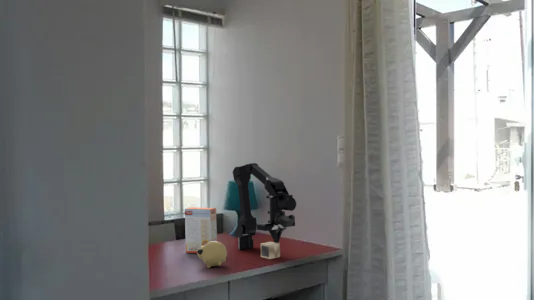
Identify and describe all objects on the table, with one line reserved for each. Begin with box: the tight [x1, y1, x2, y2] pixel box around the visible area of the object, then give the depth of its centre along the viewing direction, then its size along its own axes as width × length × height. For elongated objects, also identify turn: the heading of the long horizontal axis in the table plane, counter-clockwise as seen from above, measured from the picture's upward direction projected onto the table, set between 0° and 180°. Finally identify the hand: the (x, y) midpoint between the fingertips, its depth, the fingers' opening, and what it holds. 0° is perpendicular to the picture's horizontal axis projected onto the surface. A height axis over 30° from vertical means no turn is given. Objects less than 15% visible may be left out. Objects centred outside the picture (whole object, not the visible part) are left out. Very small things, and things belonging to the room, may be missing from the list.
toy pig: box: [196, 240, 228, 269], centre depth 207 cm, size 10×12×11 cm
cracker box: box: [184, 206, 218, 254], centre depth 235 cm, size 14×6×21 cm, turn 65°
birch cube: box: [260, 241, 281, 260], centre depth 220 cm, size 6×6×6 cm
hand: (276, 244), depth 223 cm, fingers closed
